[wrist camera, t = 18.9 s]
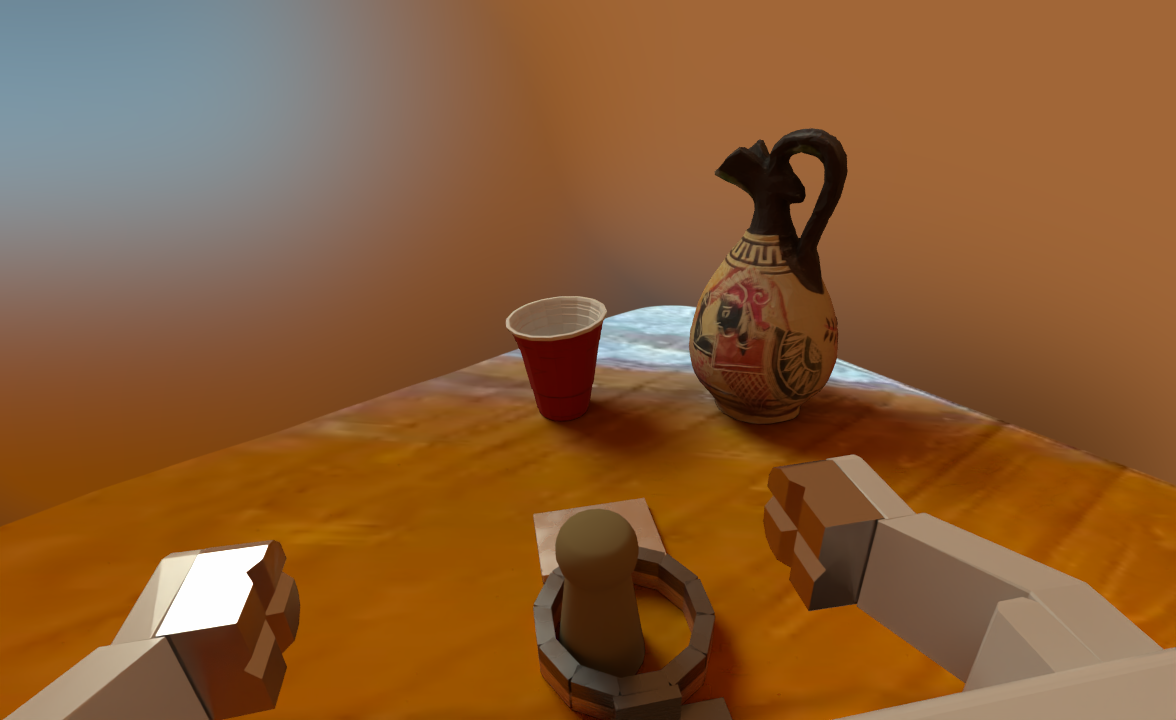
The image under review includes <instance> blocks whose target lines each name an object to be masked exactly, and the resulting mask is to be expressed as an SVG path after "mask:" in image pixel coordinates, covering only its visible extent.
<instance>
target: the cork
mask: <svg viewBox="0 0 1176 720" xmlns="http://www.w3.org/2000/svg"><path fill="white" fill-rule="evenodd" d="M555 554H556V561H557V563H558V565H559V568H560V570H561V572H562V574H563V576H564V577H565V581H564V591H563V601H562V612H561V622H560V633H559V643H560V644H561V645H562V646H563V647H564V648H565V649H566V650H567V651H568V652H569V653H570V654H571V656H572V657H573V658H574V659H575V660H576V661H577V662H578V663H579V664H580V665H581V666H584V667H587V668H590V669H593V670H597V671H600V672H603V673H606V674H610V675H613V676H616V677H619V678H622V677H627V676H632V675H635V674H636V673H637V671H638V669H639V668H640V666H641V665H642V663H643V659H644V654H645V646H644V640H643V634H642V629H641V624H640V618H639V613H638V608H637V603H636V597H635V592H634V587H633V582H632V576H631V574H632V572H633V571H634V569H635V566H636V562H637V558H638V554H639V546H638V540H637V536H636V533H635V531H634V529H633V528H632V526H631V525H630V523H629V522H628V521H627V520H626V519H625V518H623V517H622V516H621V515H620V514H618V513H615V512H613V511H610V510H605V509H588V510H585V511H581V512H578V513H577V514H575V515H573V516H571V517H570V518H569V519H568V520H567V521H566V522H565V523H564V524H563V526H562V527H561V528H560V530H559V533H558V535H557V538H556V542H555Z"/></svg>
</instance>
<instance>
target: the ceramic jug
mask: <svg viewBox="0 0 1176 720" xmlns="http://www.w3.org/2000/svg"><path fill="white" fill-rule="evenodd" d="M800 152H802V153H806V154H809V155H813V156H816V157H817V158H819V159H820V161H821V162H822V163H823V164H824V169H825V174H824V176H825V177H824V185H823V188H822V190H821V193H820V195H819V198H818V200H817V203H816V205H815V208H814V210H813V213H812V216H811V217H810V219H809V221H808V222H807V225H806V226H805V229H804V231H803V233H802V235H801V238H798V236H797V234H796V231H795V228H794V226H793V223H792V220H791V216H790V204H792V203H801V202H803V201H804V199H805V196H806V195H805V187H804V186H803V184H802V183H801V181H800V179H799V178H798V177H797V175H796V174H795V173H794V172H793V169H792V167H791V165H790V163H789V159H790V157H791V156H792V155H794V154H797V153H800ZM715 175H716V176H718V177H720V178H722V179H723V180H725V181H727V182H730V183H732V184H734V185H736V186H738V187H739V188H741V189H742V190H744V191H746V192H747V193H748V194H749V195H750V196H751V197H752V198H753V201H754V204H755V211H754V215H753V219H752V223H751V226H750V228H749V229H747V230H746V233H745V234H744V236H743V237H742V238H741V240H740V241H739V242H738V243H737V244H736V245H735V246H734V247H733V248H732V250H731V251H730V252H729V253H728V255H727V256H726V258H725V259H724V261H723V262H722V264H721V265H720V266H719V268H718V269H717V271H716V272H715V273H714V275H713V276H712V278H711V279H710V281H709V282H708V284H707V286H706V287H705V289H704V291H703V293H702V295H701V297H700V300H699V302H698V305H697V308H696V312H695V315H694V319H693V323H692V326H691V330H690V342H689V350H690V357H691V362H692V366H693V369H694V372H695V374H696V376H697V377H698V379H699V381H700V382H701V383H702V384H703V385H704V386H705V388H706V389H707V390H708V391H709V392H710V393H711V394H712V395H713V397H714V398H715V403H716V405H717V407H718V408H719V409H720V410H721V411H722V412H723V413H725V414H727V415H729V416H730V417H732V418H733V419H736V420H739V421H743V422H747V423H755V424H770V423H776V422H781V421H786V420H790V419H794V418H795V417H796V416H797V415H799V410H800V406H801V404H802V403H804V402H805V401H807V400H808V399H810V398H811V397H812V396H814V395H815V394H817V393H818V392H820V391H821V390H822V388H823V387H824V386H825V384H826V383H827V381H828V379H829V377H830V375H831V373H832V371H833V368H834V365H835V363H836V359H837V349H838V329H837V318H836V316H835V312H834V308H833V305H832V301H831V298H830V296H829V293H828V291H827V289H826V287H825V284H824V282H823V280H822V277H821V270H820V261H819V256H818V252H817V245H818V242H819V240H820V238H821V235H822V233H823V231H824V229H825V227H826V225H827V223H828V220H829V218H830V217H831V215H832V213H833V211H834V209H835V207H836V205H837V203H838V201H839V199H840V197H841V194H842V190H843V187H844V183H845V180H846V176H847V155H846V153H845V151H844V149H843V147H842V145H841V143H840V141H838V140H837V139H836V137H834V136H832V135H830V134H829V133H827V132H825V131H823V130H819V129H802V130H797V131H794V132H791V133H789V134H787V135H785V136H783V137H782V138H781V139H780V140H779V141H778V142H777V143H776V144H775V145H774V147H773V149H772V151H771V154H769V152H768V150H767V147H766V145H765V143H764V141H763V140H758V141H757V143H755V144H754V145H753V146H752V147H751V148H749V149H747V148H745V147H739V148H738V149H737V150H735V151H734V152H733V153H732V154H730V155H729V156H728V157H727V158H726V160H725V161H724V163H723V164H722V165H721V166H720V167H719V168H718V169H717V170H716V171H715Z"/></svg>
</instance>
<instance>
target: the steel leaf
mask: <svg viewBox="0 0 1176 720" xmlns="http://www.w3.org/2000/svg"><path fill="white" fill-rule="evenodd" d="M588 509H605V510H610V511H613V512H615V513H618V514H620V515H621V516H622V517H623V518H625V519H626V520H627V521H628V522H629V523H630V525H631V526H632V528H633V529H634V531H635V533H636V536H637V540H638V546H639V547H643V548H648V549H652V550H656V551H660V552H665V555H666V551H665V549H664V546H663V544H662V541H661V539H660V536H659V534H658V531H657V529H656V526H655V524H654V521H653V519H652V516H651V514H650V511H649V509H648V506H647V504H646V501H645V499H644V498H641V499H634V500H627V501H620V502H613V503H607V504H600V505H593V506H586V507H579V508H573V509H566V510H559V511H552V512H546V513H539V514H533V516H534V525H535V532H536V539H537V546H538V552H539V559H540V566H541V573H542V580H543V583H545V582H546V580H547V578H548V576H549V575H550V573H552V571H553V570H554V569H556V568H557V567H559V565H558V563H557V561H556V554H555V542H556V538H557V535H558V533H559V530H560V528H561V527H562V526H563V524H564V523H565V522H566V521H567V520H568V519H569V518H570V517H571V516H573V515H575V514H577V513H578V512H581V511H585V510H588ZM631 576H632V582H633V584H636V585H640V586H644V587H647V588H651V589H655V590H658V591H659V592H660V593H662V594H663V595H664V596H665V597H666V598H668V599H669V600H670V601H671V602H672V603H674V604H675V605H676V606H677V607H679V608H680V609H681V610H682V611H683V613H684V615H685V618H686V621H687V623H688V626H689V628H690V631H691V633H692V631H693V627H694V623H693V620H692V617H691V615H690V612H689V610H688V607H687V605H686V602H685V600H684V598H683V597H682V596H681V595H680V594H678V593H677V592H676V591H675V590H673V589H672V588H671V587H670V586H669V585H667V584H666V583H665V582H664V581H662V580H661V579H660V578H659V577H656V576H652V575H648V574H644V573H640V572H636V571H633V572H632V574H631ZM562 601H563V599H562ZM562 601H561V603H560V605H559V607H558V609H557V611H556V613H555V615H554V617H553V624H554V631H555V629H556V627H557V625H558V623H559V620H560V618H561V612H562ZM535 629H536V628H535ZM713 631H714V630H713ZM536 638H537V636H536ZM712 641H713V635H712V640H711V645H710V650H709V655H708V660H707V665H706V668H705V670H704V671H703V672H702V673H701V674H700V675H699V676H698V677H697V678H696V679H695V680H694V681H693V682H692V683H691V684H690V685H688V686H687V687H686V688H685V689H684V690H683V691H682V692H681V696H682V703H681V705H682V704H683V703H684V702H685V701H686V700H687V699H688V698H689V697H691V696H692V695H693V694H694V693H695V692H696V691H697V690H698V689H699V688H700V687H701V686H702V685H703V682H705V677H706V672H707V667H708V662H709V657H710V652H711V647H712ZM537 646H538V644H537ZM538 654H539V653H538ZM539 663H540V671H541V672H542V676H543V677H544V678H545V679H546V681H547V682H548V683H549V684H550V685H551V686H552V688H553V689H554V690H555V691H556V692H557V693H558V695H559V696H560V697H561V698H562V699H563V701H564V702H565V703H566V704H567V705H568V706H569V708H571V707H573V710H574V711H577V712H580V713H583V714H586V715H589V716H592V717H595V718H598V719H601V720H612V719H613V709H610V708H607V707H604V706H601V705H597V704H594V703H591V702H588V701H585V700H582V699H579V698H576V697H573V696H572V693H570V694H568V693H567V691H566V690H565V689H564V688H563V687H562V686H561V685H560V683H559V682H558V681H557V680H556V679H555V678H554V676H553V675H552V674H551V673H550V672H549V671H548V670H547V668H546V667H545V666H544V665H543V664H542V663H541V662H540V659H539Z"/></svg>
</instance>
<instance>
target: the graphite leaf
mask: <svg viewBox="0 0 1176 720" xmlns="http://www.w3.org/2000/svg"><path fill="white" fill-rule="evenodd" d="M634 571H636V572H640V573H644V574H648V575H652V576H656V577H659V578H660V579H661V580H662V581H664V582H665V583H666V584H667V585H669V586H670V587H671V588H672V589H673V590H675V591H676V592H677V593H678V594H680V595H681V596H682V597H683V598H684V600H685V602H686V605H687V607H688V610H689V612H690V615H691V617H692V620H693V623H694V627H693V631H692V635H691V639H690V643H689V646H688V647H687V648H686V649H685V650H683V651H682V652H681V653H680V654H679V655H678V656H677V657H675V658H674V659H673V660H672V661H671V662H670V663H669V664H667V665H666V666H665V667H664V668H663V669H662V670H659V671H654V672H648V673H643V674H638V675H632V676H627V677H622V678H619V677H616V676H613V675H610V674H606V673H603V672H600V671H597V670H593V669H590V668H587V667H584V666H581V665H580V664H579V663H578V662H577V661H576V660H575V659H574V658H573V657H572V656H571V654H570V653H569V652H568V651H567V650H566V649H565V648H564V647H563V646H562V645H561V644H560V643H559V642H558V641H557V639H556V637H555V631H554V624H553V617H554V615H555V613H556V611H557V609H558V607H559V605H560V603H561V601H562V599H563V591H564V581H565V577H564V576H563V574H562V572H561V570H560V568H559V567H557V568H556V569H554V570H553V571H552V573H550V575H549V576H548V578H547V580H546V582H545V584H544V586H543V588H542V590H541V592H540V594H539V595H538V597H537V599H536V601H535V603H534V607H533V610H534V619H535V628H536V636H537V644H538V653H539V659H540V662H541V663H542V664H543V665H544V666H545V667H546V668H547V670H548V671H549V672H550V673H551V674H552V675H553V676H554V678H555V679H556V680H557V681H558V682H559V683H560V685H561V686H562V687H563V688H564V689H565V690H566V691H567V693H568V694H570V693H572V696H573V697H576V698H579V699H582V700H585V701H588V702H591V703H594V704H597V705H601V706H604V707H607V708H610V709H613V719H612V720H732V718H731V715H730V713H729V710H728V708H727V705H726V703H725V700H724V698H723V697H722V698H717V699H712V700H707V701H702V702H697V703H692V704H687V705H682V706H681V703H682V696H681V692H682V691H683V690H684V689H685V688H686V687H687V686H688V685H690V684H691V683H692V682H693V681H694V680H695V679H696V678H697V677H698V676H699V675H700V674H701V673H702V672H703V671H704V670H705V668H706V665H707V660H708V655H709V650H710V645H711V640H712V635H713V630H714V621H715V616H714V615H715V613H714V610H713V608H712V606H711V604H710V601H709V599H708V597H707V595H706V592H705V590H704V588H703V586H702V583H701V581H700V579H698V577H697V576H696V575H695V574H693V573H692V572H691V571H690V570H688V569H687V568H686V567H684V566H683V565H682V564H680V563H679V562H678V561H676V560H675V559H674V558H672V557H671V556H670V555H668V554H666V555H665V552H660V551H656V550H652V549H648V548H643V547H639V554H638V558H637V562H636V566H635V569H634Z"/></svg>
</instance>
